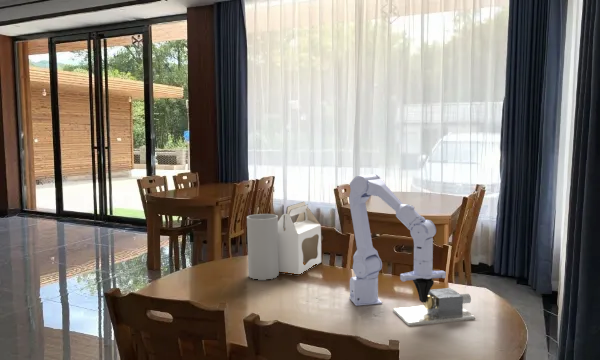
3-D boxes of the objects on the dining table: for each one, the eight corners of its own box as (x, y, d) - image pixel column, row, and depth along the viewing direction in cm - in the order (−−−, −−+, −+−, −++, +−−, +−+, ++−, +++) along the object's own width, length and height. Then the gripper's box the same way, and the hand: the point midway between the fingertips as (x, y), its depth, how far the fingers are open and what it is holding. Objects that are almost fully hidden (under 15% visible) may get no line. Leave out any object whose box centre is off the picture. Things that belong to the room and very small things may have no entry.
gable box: (298, 275, 194) (297, 208, 191) (271, 271, 200) (269, 206, 197) (321, 262, 213) (320, 201, 210) (296, 259, 219) (295, 199, 216)
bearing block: (408, 325, 142) (408, 303, 141) (393, 311, 154) (393, 290, 153) (474, 319, 146) (475, 297, 145) (454, 305, 158) (455, 285, 157)
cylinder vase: (278, 280, 187) (276, 219, 185) (246, 281, 188) (244, 219, 185) (279, 271, 200) (278, 213, 197) (250, 272, 200) (248, 214, 197)
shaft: (429, 311, 147) (429, 297, 147) (423, 306, 151) (423, 293, 151) (472, 307, 150) (472, 293, 149) (464, 302, 154) (464, 289, 154)
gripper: (406, 264, 142) (406, 307, 144) (450, 261, 145) (450, 303, 146) (397, 258, 149) (397, 299, 150) (439, 255, 152) (439, 296, 153)
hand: (422, 301), depth 149 cm, fingers closed
